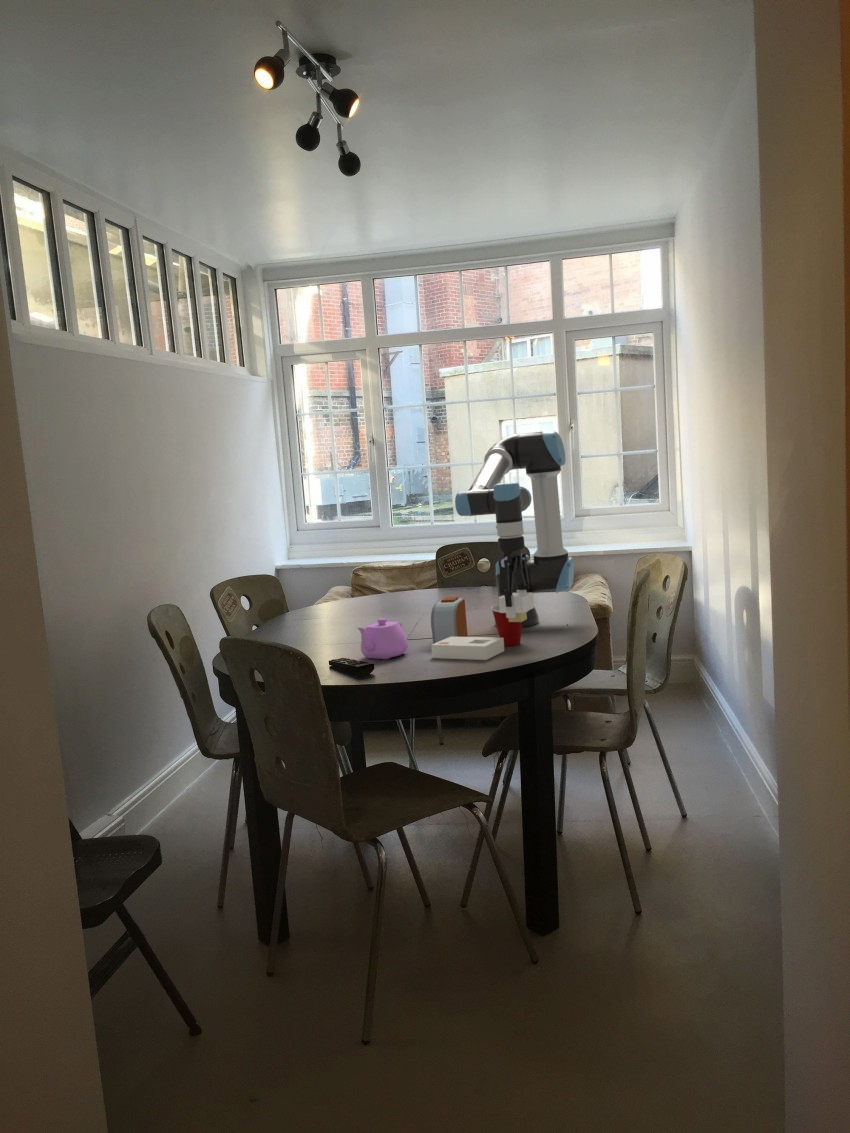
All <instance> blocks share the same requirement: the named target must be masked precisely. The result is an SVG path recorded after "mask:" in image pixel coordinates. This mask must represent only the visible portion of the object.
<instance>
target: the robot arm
mask: <svg viewBox="0 0 850 1133" xmlns="http://www.w3.org/2000/svg"><path fill="white" fill-rule="evenodd" d="M561 437H562V436H561V435H560V433H558V432H557V431H556V430H542V431H535V432H527V433H526V432H525V433H516V434H511V435H508V436H506V437H505V436H504V438H501V439H500V440H498V441H497V442H496V443H494V444H493V445H492V446H491V447H490V448H489V449H488V450H487V452H486V454H485V455H484V459H483V465H482V467H481V468H480V470H479V472H478V473H477V475H476V477H475V479H474V480H473V482H472V484H471V485H470V488H469V489H468V490H463V491H458V492H457V493H456V495H455V498H454V505H455V506H454V507H455V510H456V511H455V512H457V514H458V515H459V516H460V517H474V516H475V517H476V516H489V515H495V521H496V522H495V523H496V525H495V529H496V531H497V532H496V534H497V537H498V539H497V546H498V547H497V548H498V551H499V552H502V553H503V556H502V559H499V560H498V561H497V562H496V563H495V578H496V579H495V581H496V590H497V598H498V597H501V596H505V607H506V618H516V610H515V599H514V595H512V594H513V593H533V594H540V593H543V594H544V593H556V594H558V593H562V592H568V591H570V589H571V588H572V587H573V586H572V585H573V583H574V576H575V562H574V561H575V559H574V558H573V557H572V556H569V551H568V550H567V549H566V548H565V547H564V544H563V534H562V533H563V530H562V520H561V510H560V509H561V507H560V506H561V505H560V495H559V485H558V484H559V483H558V475H559V474H560V473H561V472H562V466H564V465H566V452H565V446H564V443H563V440H562V438H561ZM523 469H525V473H526V474H525V475H526V476H528V477H529V478H530V481H531V482H530V483H531V490H532V491H531V492H532V493H531V492H530V490H529V489H528V488H526V487H525V486H520V484H519V482H518V481H510V482H509V481H507V482H502V480H503V479H504V476H505V475H507V474H508V473H509V472H510V471H513V470H523ZM532 502H533V503H532ZM531 503H532V504H533V505H532V506H533V515H534V526H535V536H536V546H537V547H536V548H537V549H536V551H535V552H534V553H533V554H532V555H533V558H532V559H531V558H530V557H529V555H528V554H526V553H525V552H521V551H522V550H524V549H525V537H524V536H523V534H524V523H523V512H524V511H526V510H527V509H528V508H529V507H530V506H531ZM497 605H499V600H498V599H497ZM526 613H527V619H526V620H524V621H522V628H523V627H530V626H533V625H537V624H539V622H540V620H539V614H538V612H537V609H536V607H535V606H534V608H533V609H531V610H529V611H527V612H526ZM494 626H495V627H497V626H496V622H495V621H494Z"/></svg>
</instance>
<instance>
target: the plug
mask: <svg viewBox="0 0 850 1133" xmlns="http://www.w3.org/2000/svg"><path fill="white" fill-rule="evenodd" d="M512 595H514V599H515V610H516V618H508V620H509V622H522V621H524V620H526V619H527V613H526V612H527V611H529V610H531V609H533V608H534V607H535V602H534V601H535V600H534V593H513V594H512ZM498 600H499V611H500V613H506V607H505V596H501V597H498V596H497V601H498Z"/></svg>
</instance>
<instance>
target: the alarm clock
mask: <svg viewBox="0 0 850 1133" xmlns="http://www.w3.org/2000/svg"><path fill="white" fill-rule="evenodd" d="M431 608H432V609H431V612H430V629H431V634H432V636H431V637H432V644H434V643H437V642H439V641H442V640H444V639H446V638H449V637H469V635H468V634H469V633H468V624H467V623H468V622H467V613H466V612H467V611H466V601H465V597H459V596H447V597H444V598H441V599H439V600H438V601H436V602H435V603H434V604H433V606H432V607H431Z"/></svg>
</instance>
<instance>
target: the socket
mask: <svg viewBox="0 0 850 1133" xmlns="http://www.w3.org/2000/svg"><path fill="white" fill-rule="evenodd" d="M430 647H431V658H432V659H449V660H450V659H452V660H472V661H473V660H476V661H477V660H479V661H480V660H481V661H487V660H489V659H491V658H494V657H495V656H497V655H499V654H501V653H503V652H505V646H504V639H503V638H500V637H492V636H491V637H490V636H489V637H484V636H483V637H481V636H480V637H479V636H468V637H449V638H446V639H444V640H442V641H439V642H437V643H434V644H433V643H431V645H430Z"/></svg>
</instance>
